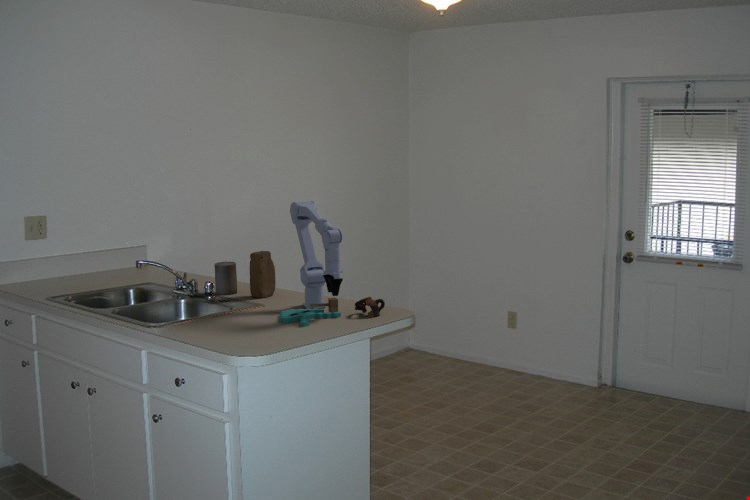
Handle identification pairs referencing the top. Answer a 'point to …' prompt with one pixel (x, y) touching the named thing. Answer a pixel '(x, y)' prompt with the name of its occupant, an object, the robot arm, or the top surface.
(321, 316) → the alien figure
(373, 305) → the broken pottery
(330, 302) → the wooden mallet
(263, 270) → the brown jar
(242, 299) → the top surface
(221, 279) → the pillar candle
